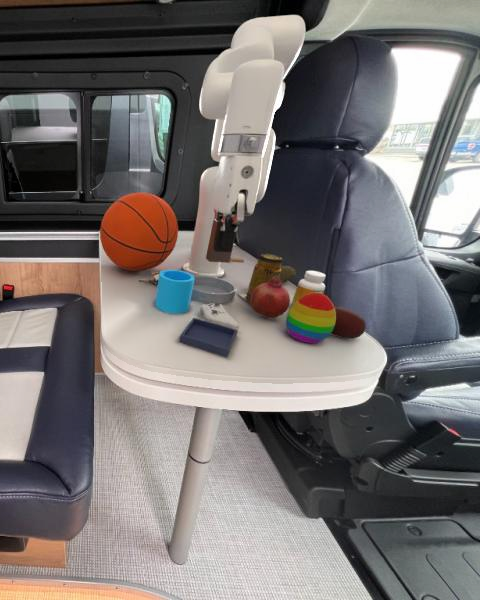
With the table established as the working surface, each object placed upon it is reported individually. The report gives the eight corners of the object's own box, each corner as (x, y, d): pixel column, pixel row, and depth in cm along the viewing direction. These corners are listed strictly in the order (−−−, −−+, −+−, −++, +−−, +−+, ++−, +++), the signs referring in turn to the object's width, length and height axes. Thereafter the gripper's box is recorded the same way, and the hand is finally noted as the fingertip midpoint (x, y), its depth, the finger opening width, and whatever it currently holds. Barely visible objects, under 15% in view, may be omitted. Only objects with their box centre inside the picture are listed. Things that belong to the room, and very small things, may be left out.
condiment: (264, 294, 88) (276, 252, 83) (282, 308, 81) (297, 263, 75) (238, 294, 88) (249, 252, 83) (254, 308, 80) (267, 262, 75)
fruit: (283, 313, 78) (296, 275, 74) (284, 328, 72) (298, 286, 67) (247, 306, 81) (257, 268, 77) (245, 319, 75) (256, 279, 71)
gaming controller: (243, 317, 67) (209, 314, 67) (239, 333, 68) (205, 330, 69) (228, 298, 76) (198, 295, 77) (224, 313, 78) (195, 310, 78)
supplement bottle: (307, 316, 77) (321, 278, 73) (285, 307, 81) (297, 271, 77) (320, 312, 79) (334, 275, 75) (298, 303, 84) (310, 268, 80)
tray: (192, 324, 72) (193, 317, 71) (236, 337, 67) (237, 330, 67) (179, 342, 65) (180, 334, 64) (227, 357, 61) (229, 350, 60)
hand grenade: (294, 283, 97) (262, 289, 96) (283, 270, 100) (252, 277, 100) (301, 271, 93) (268, 278, 93) (289, 259, 97) (257, 265, 96)
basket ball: (78, 250, 108) (95, 179, 94) (131, 244, 120) (154, 181, 106) (120, 291, 93) (147, 215, 79) (175, 280, 106) (208, 212, 92)
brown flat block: (205, 258, 66) (213, 219, 63) (240, 260, 66) (249, 220, 63) (209, 261, 64) (217, 221, 61) (244, 263, 64) (255, 223, 61)
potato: (362, 319, 70) (347, 343, 70) (318, 300, 73) (304, 323, 73) (380, 319, 63) (362, 346, 63) (330, 298, 66) (314, 323, 67)
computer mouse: (136, 278, 96) (137, 265, 95) (185, 280, 96) (188, 267, 94) (139, 288, 90) (141, 274, 88) (192, 290, 89) (195, 276, 88)
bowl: (190, 281, 96) (192, 272, 94) (237, 292, 89) (240, 282, 88) (176, 296, 86) (178, 286, 84) (227, 309, 79) (230, 298, 78)
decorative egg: (333, 339, 67) (352, 296, 63) (317, 351, 63) (336, 306, 59) (292, 323, 73) (306, 282, 69) (274, 333, 69) (289, 291, 65)
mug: (187, 316, 75) (194, 284, 72) (152, 310, 78) (157, 278, 74) (190, 296, 86) (195, 267, 82) (159, 291, 88) (163, 263, 85)
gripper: (287, 147, 49) (256, 262, 57) (245, 149, 64) (224, 240, 71) (237, 145, 49) (213, 260, 57) (206, 147, 64) (190, 238, 72)
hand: (219, 248), depth 64 cm, fingers closed on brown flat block, 2 cm apart
